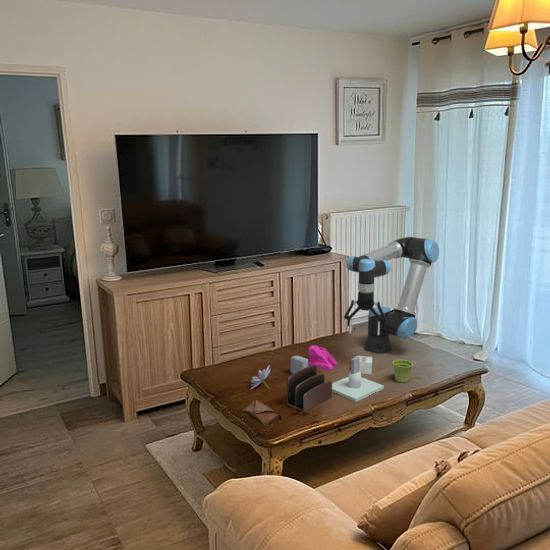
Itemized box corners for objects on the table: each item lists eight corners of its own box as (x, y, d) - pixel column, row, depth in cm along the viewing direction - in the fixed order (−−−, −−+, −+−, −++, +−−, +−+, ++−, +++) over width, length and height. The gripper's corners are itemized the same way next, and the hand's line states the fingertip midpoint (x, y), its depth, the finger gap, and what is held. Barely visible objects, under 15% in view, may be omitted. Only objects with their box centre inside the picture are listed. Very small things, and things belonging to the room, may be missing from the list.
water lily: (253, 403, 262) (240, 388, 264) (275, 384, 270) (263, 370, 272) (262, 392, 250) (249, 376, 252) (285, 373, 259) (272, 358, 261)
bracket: (308, 367, 285) (308, 348, 283) (315, 360, 294) (315, 341, 292) (331, 371, 281) (331, 351, 278) (337, 364, 290) (337, 345, 287)
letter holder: (286, 405, 244) (286, 375, 241) (315, 391, 258) (315, 362, 255) (303, 412, 238) (304, 381, 234) (332, 397, 252) (333, 367, 248)
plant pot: (398, 374, 276) (399, 358, 274) (415, 380, 269) (416, 363, 267) (387, 380, 269) (388, 363, 267) (404, 386, 263) (405, 368, 261)
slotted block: (356, 366, 285) (356, 354, 284) (372, 368, 284) (372, 355, 282) (354, 372, 278) (355, 360, 276) (371, 374, 276) (371, 361, 275)
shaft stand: (353, 377, 273) (354, 347, 269) (383, 388, 260) (385, 358, 256) (325, 389, 260) (325, 358, 256) (355, 402, 247) (356, 369, 243)
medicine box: (308, 375, 275) (308, 359, 273) (302, 378, 272) (302, 361, 270) (296, 371, 280) (296, 355, 278) (290, 374, 277) (290, 357, 275)
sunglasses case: (240, 410, 240) (246, 395, 241) (251, 413, 244) (257, 399, 245) (265, 426, 226) (272, 410, 227) (277, 429, 230) (283, 414, 231)
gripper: (339, 291, 271) (338, 334, 275) (392, 294, 265) (390, 337, 270) (340, 288, 278) (339, 329, 283) (392, 290, 272) (390, 332, 277)
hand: (364, 333), depth 276 cm, fingers open, 13 cm apart
